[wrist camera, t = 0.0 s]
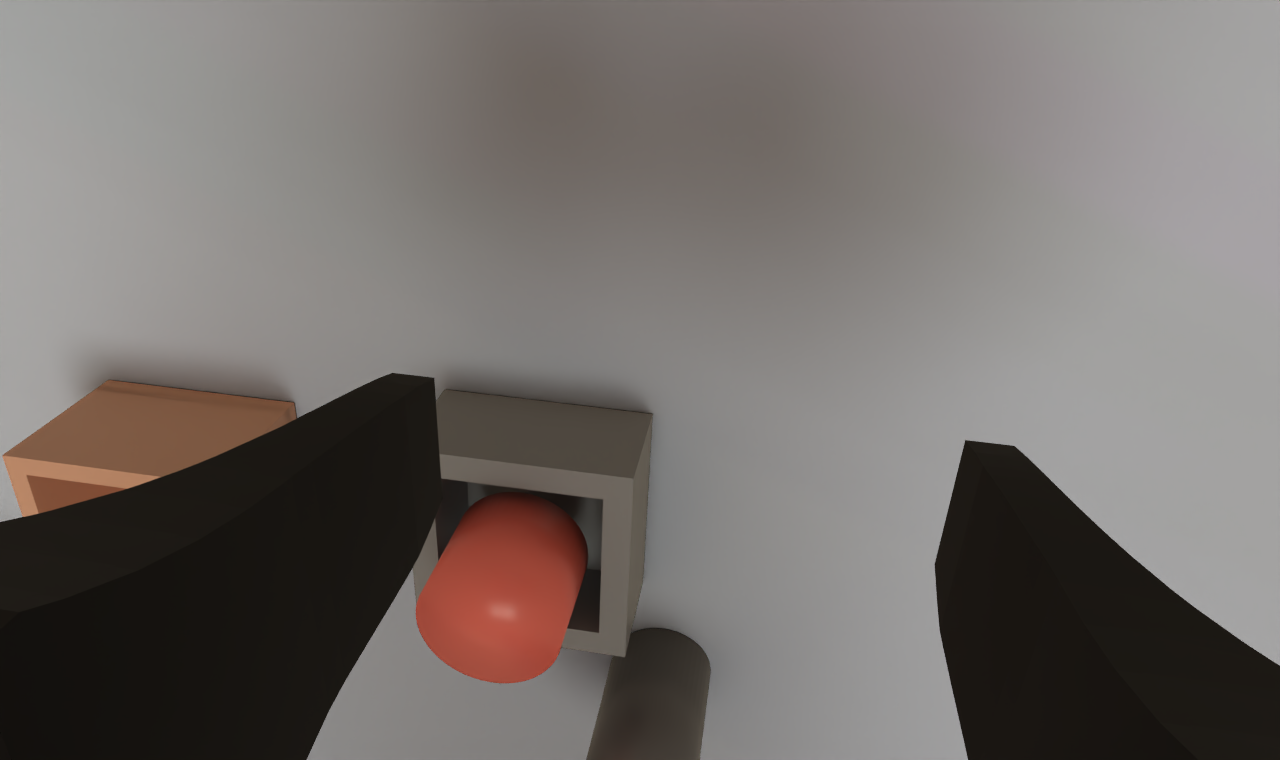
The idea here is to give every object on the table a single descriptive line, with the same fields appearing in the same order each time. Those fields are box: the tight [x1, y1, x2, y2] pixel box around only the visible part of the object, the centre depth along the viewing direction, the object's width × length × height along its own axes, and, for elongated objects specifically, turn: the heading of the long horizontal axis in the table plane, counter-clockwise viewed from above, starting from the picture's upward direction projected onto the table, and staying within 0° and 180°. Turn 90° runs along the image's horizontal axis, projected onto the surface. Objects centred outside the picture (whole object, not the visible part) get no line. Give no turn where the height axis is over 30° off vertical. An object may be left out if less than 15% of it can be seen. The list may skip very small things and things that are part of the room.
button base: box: [413, 390, 653, 657], centre depth 25 cm, size 6×6×3 cm
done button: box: [416, 492, 589, 683], centre depth 22 cm, size 3×3×3 cm
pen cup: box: [2, 380, 296, 517], centre depth 26 cm, size 6×6×4 cm
